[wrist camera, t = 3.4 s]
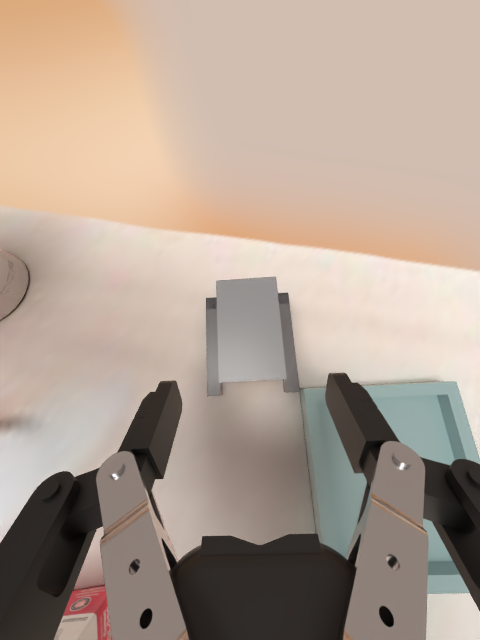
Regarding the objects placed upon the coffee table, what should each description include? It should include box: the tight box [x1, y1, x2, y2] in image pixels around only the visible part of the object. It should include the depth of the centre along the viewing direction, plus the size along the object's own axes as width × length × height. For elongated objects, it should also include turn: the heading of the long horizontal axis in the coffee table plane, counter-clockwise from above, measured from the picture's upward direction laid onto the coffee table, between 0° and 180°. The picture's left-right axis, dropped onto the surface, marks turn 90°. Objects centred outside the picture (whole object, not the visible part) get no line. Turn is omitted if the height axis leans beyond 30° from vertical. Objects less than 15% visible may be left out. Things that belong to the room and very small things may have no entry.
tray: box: [299, 382, 480, 594], centre depth 18 cm, size 13×14×2 cm
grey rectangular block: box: [216, 277, 287, 383], centre depth 18 cm, size 4×6×10 cm, turn 3°
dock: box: [206, 293, 300, 396], centre depth 22 cm, size 8×10×2 cm
